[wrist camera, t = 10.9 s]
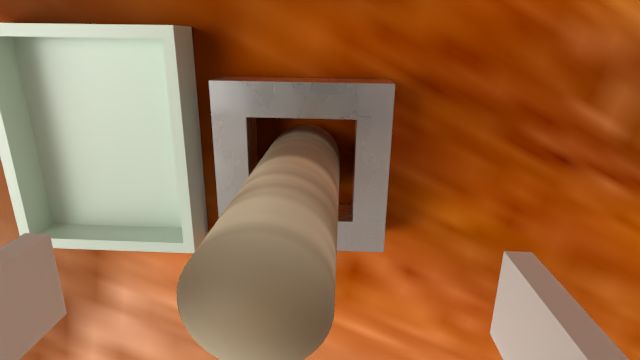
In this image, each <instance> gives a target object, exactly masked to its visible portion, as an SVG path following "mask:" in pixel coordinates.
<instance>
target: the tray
mask: <svg viewBox="0 0 640 360" xmlns="http://www.w3.org/2000/svg"><path fill="white" fill-rule="evenodd" d="M0 157H1V161H2V165H3V169H4V173H5V177H6V181H7V185H8V189H9V193H10V197H11V201H12V205H13V209H14V213H15V217H16V221H17V226H18V230H19V234H20V236H21V235H23V234H24V233H34V234H50V236H51V241H52V246H53V248H68V249H95V250H122V251H148V252H175V253H195V251H196V250H197V248H198V247H199V246H200V244H201V243H202V241H203V240H204V239H205V237H206V236H207V234H208V221H207V209H206V197H205V184H204V172H203V160H202V148H201V136H200V124H199V112H198V100H197V88H196V76H195V63H194V51H193V39H192V27H191V26H178V25H125V24H44V23H0Z"/></svg>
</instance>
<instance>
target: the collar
mask: <svg viewBox="0 0 640 360" xmlns="http://www.w3.org/2000/svg"><path fill="white" fill-rule="evenodd" d="M209 92H210V106H211V120H212V134H213V147H214V161H215V175H216V188H217V202H218V216H219V218H220V216H221V215H222V213H223V212H224V211H225V209H226V208H227V206H228V205H229V204H230V202H231V201H232V199H233V198H234V197H235V195H236V194H237V192H238V191H239V190H240V188H241V187H242V185H243V184H244V183H245V181H246V180H247V178H248V177H249V176H250V174H251V173H252V171H253V170H254V169H255V167H256V166H257V164H258V151H257V124H256V117H260V118H305V119H350V120H355V134H354V158H353V183H352V204H339V205H338V230H337V251H365V252H384V238H385V224H386V209H387V195H388V181H389V167H390V153H391V139H392V125H393V110H394V96H395V83H394V82H393V81H391V80H390V79H359V78H303V77H247V76H221V77H218V78H215V79H212V80H209Z"/></svg>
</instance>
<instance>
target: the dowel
mask: <svg viewBox="0 0 640 360" xmlns="http://www.w3.org/2000/svg"><path fill="white" fill-rule="evenodd" d="M339 179H340V151H339V148H338V145H337V143H336V141H335V140H334V138H333V137H332V136H331V134H329V133H328V132H327V131H326V130H324V129H323V128H321V127H319V126H316V125H313V124H296V125H293V126H291V127H288V128H287V129H285V130H284V131H282V132H281V133H280V134H279V135H278V137H277V138H276V139H275V141H274V142H273V143H272V145H271V146H270V148H269V149H268V150H267V152H266V153H265V155H264V156H263V157H262V159H261V160H260V162H259V163H258V164H257V166H256V167H255V169H254V170H253V171H252V173H251V174H250V176H249V177H248V178H247V180H246V181H245V183H244V184H243V185H242V187H241V188H240V190H239V191H238V192H237V194H236V195H235V197H234V198H233V199H232V201H231V202H230V204H229V205H228V206H227V208H226V209H225V211H224V212H223V213H222V215H221V216H220V218H219V219H218V220H217V222H216V223H215V225H214V226H213V227H212V229H211V230H210V232H209V233H208V234H207V236H206V237H205V239H204V240H203V241H202V243H201V244H200V246H199V247H198V248H197V250H196V251H195V253H194V254H193V255H192V257H191V258H190V260H189V261H188V262H187V264H186V265H185V267H184V269H183V271H182V273H181V275H180V278H179V282H178V286H177V305H178V310H179V313H180V317H181V319H182V321H183V323H184V326H185V327H186V329H187V331H188V332H189V334H190V335H191V336H192V337H193V339H194V340H195V341H196V342H197V343H198V344H199V345H200V346H201V347H202V348H203V349H205V350H206V351H207V352H209V353H210V354H211V355H213V356H215V357H217V358H218V359H220V360H303V359H305V358H306V357H308V356H309V355H311V354H312V353H313V352H314V351H315V350H316V349H317V348H318V347H319V346H320V345H321V344H322V343H323V341H324V340H325V338H326V337H327V335H328V333H329V331H330V328H331V325H332V322H333V317H334V306H335V281H336V256H337V230H338V205H339Z"/></svg>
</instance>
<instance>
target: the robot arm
mask: <svg viewBox="0 0 640 360" xmlns="http://www.w3.org/2000/svg"><path fill="white" fill-rule="evenodd" d="M66 314H67V313H66V308H65V303H64V298H63V294H62V289H61V284H60V279H59V275H58V270H57V265H56V260H55V256H54V251H53V246H52V241H51V236H50V234H34V233H24V234H23V235H21V236H19V237H18V238H16V239H14V240H13V241H11V242H9V243H7V244H6V245H4V246H2V247H1V248H0V360H19V359H20V358H21V357H22V356H23V355H24V354H25V353H26V352H27V351H29V350H30V349H31V348H32V347H33V346H34V345H35V344H36V343H37V342H38V341H39V340H40V339H41V338H42V337H43V336H44V335H45V334H46V333H47V332H48V331H49V330H50V329H51V328H52V327H53V326H54V325H55V324H56V323H57V322H58V321H59V320H60V319H61V318H62V317H64V316H65V315H66ZM490 334H491V336H492V338H493V340H494V342H495V344H496V346H497V348H498V350H499V352H500V354H501V356H502V358H503V360H629V359H628V358H627V357H626V356H625V354H624V353H623V352H622V351H621V350H620V349H619V348H618V347H617V346H616V345H615V343H614V342H613V341H612V340H611V339H610V338H609V337H608V336H607V335H606V333H605V332H604V331H603V330H602V329H601V328H600V327H599V326H598V325H597V324H596V322H595V321H594V320H593V319H592V318H591V317H590V316H589V315H588V314H587V312H586V311H585V310H584V309H583V308H582V307H581V306H580V305H579V304H578V303H577V301H576V300H575V299H574V298H573V297H572V296H571V295H570V294H569V293H568V291H567V290H566V289H565V288H564V287H563V286H562V285H561V284H560V283H559V282H558V280H557V279H556V278H555V277H554V276H553V275H552V274H551V273H550V272H549V270H548V269H547V268H546V267H545V266H544V265H543V264H542V263H541V262H540V261H539V259H538V258H537V257H536V256H535V255H534V254H533V253H532V252H514V251H504V254H503V260H502V266H501V271H500V277H499V283H498V289H497V295H496V301H495V307H494V312H493V318H492V324H491V330H490Z"/></svg>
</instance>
